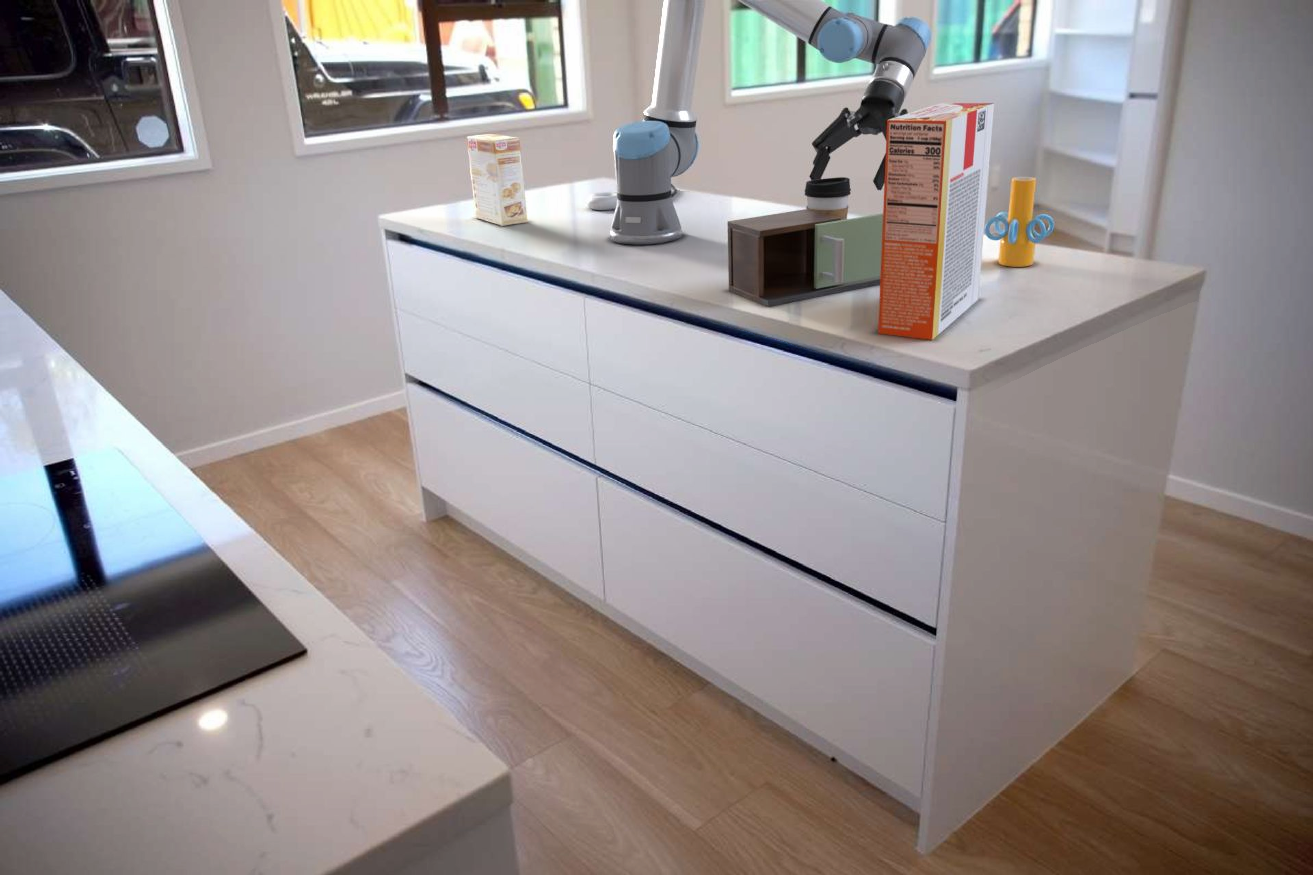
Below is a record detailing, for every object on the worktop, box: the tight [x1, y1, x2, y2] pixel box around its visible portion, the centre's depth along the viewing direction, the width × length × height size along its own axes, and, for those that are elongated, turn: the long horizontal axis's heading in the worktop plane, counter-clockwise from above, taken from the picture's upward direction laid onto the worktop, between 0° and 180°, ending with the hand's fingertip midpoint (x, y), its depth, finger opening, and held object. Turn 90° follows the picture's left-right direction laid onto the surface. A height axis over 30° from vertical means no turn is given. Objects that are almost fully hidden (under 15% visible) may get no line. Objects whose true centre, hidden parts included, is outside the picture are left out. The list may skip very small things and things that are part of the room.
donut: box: [586, 191, 617, 211], centre depth 249 cm, size 10×4×10 cm
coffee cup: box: [804, 176, 852, 220], centre depth 186 cm, size 8×8×15 cm
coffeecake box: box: [466, 133, 529, 227], centre depth 237 cm, size 15×7×20 cm, turn 34°
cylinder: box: [984, 176, 1055, 268], centre depth 177 cm, size 12×10×15 cm
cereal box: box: [877, 102, 995, 341], centre depth 147 cm, size 23×8×30 cm, turn 148°
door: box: [814, 213, 883, 289], centre depth 165 cm, size 6×16×11 cm, turn 118°
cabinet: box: [727, 208, 881, 308], centre depth 170 cm, size 12×27×12 cm, turn 118°
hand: (844, 183), depth 187 cm, fingers open, 13 cm apart
